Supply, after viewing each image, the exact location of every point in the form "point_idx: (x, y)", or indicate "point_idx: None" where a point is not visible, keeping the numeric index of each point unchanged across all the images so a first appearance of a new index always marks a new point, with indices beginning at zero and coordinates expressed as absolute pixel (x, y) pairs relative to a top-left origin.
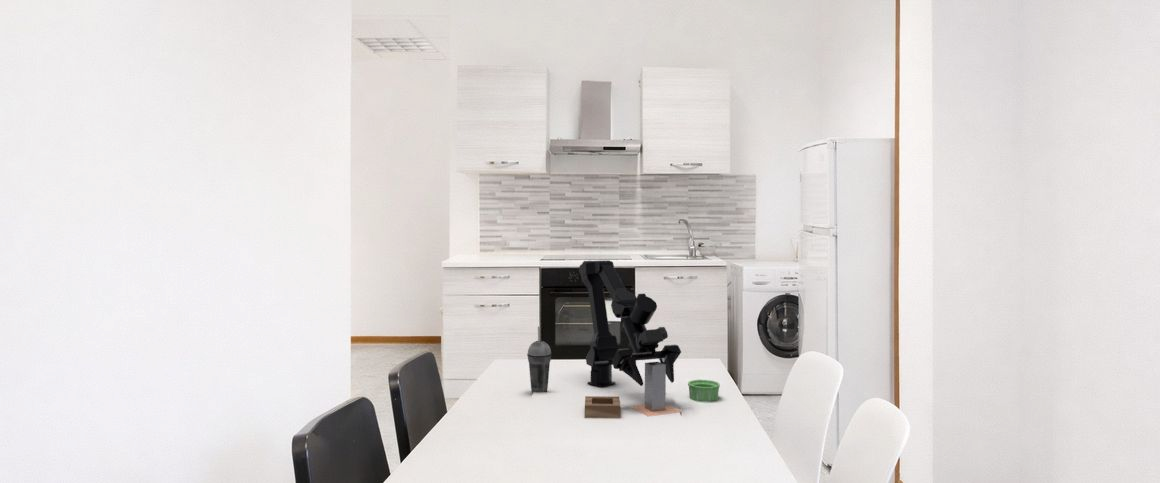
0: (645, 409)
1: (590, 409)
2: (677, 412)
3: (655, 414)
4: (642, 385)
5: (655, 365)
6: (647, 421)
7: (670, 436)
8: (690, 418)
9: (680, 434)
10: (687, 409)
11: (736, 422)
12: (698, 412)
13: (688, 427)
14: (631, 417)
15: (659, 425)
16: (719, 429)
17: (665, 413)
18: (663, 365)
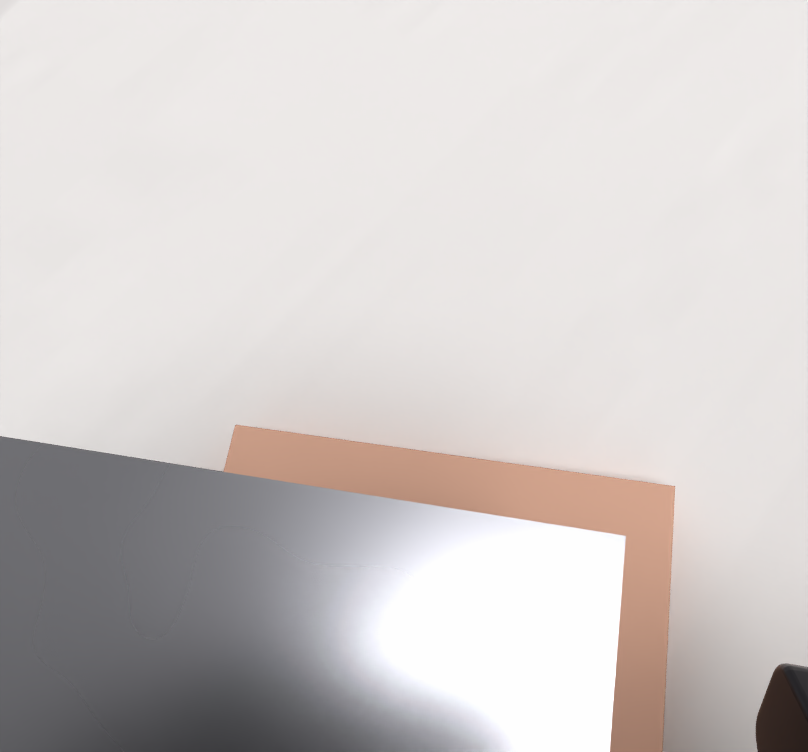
0: None
1: None
2: (285, 432)
3: (551, 494)
4: (763, 706)
5: (432, 511)
6: (687, 465)
7: (730, 49)
8: (242, 329)
9: (623, 52)
10: None
11: (34, 86)
12: (30, 438)
13: (444, 150)
14: None
15: (646, 303)
16: (273, 23)
17: (424, 466)
18: (45, 450)
